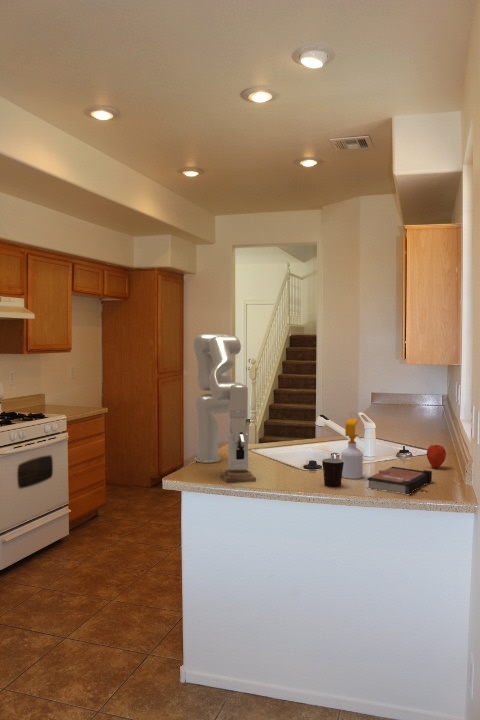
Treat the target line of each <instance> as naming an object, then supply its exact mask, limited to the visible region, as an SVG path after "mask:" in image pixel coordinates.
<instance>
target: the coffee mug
mask: <svg viewBox="0 0 480 720" xmlns="http://www.w3.org/2000/svg"><path fill="white" fill-rule="evenodd" d="M321 462H322V465H321V466H322V471H323V472H322V473H323V482H324V483H323V485H324V486H325V487H328V488H340V487H341V485H342V478H343V477H342V472H343V465H344V460H341V458H333V457H331V458H328V457H327V458H322V460H321Z"/></svg>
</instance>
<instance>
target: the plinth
mask: <svg viewBox="0 0 480 720" xmlns="http://www.w3.org/2000/svg"><path fill="white" fill-rule="evenodd" d="M220 477H221V478H222V479H223V480H224V481H225V482H226V483H227V484H228V483H232V484H234V483H248V482H252V483H253V482H256V481H257V477H255V475H254V474H252V472H251V471H249V470H248V469H235V470H229V468H228V469H224V472H223V471H222V472H220Z"/></svg>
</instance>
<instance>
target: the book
mask: <svg viewBox="0 0 480 720" xmlns="http://www.w3.org/2000/svg"><path fill="white" fill-rule="evenodd" d="M432 475H433V471H432V470H425V469H424V470H419V469H418V470H417V469H410V468H407V467H406V468H405V467H397V466H391V467H388V468H387V469H385V470H378V473H377V472H376V474H373V475H371V476H369V477H367V478H366V479H367V481H368V487H366V489H368V488H371V489H370V490H374V489H377V490H376V491H380V490H387V491H393V492H400V493H405V494H410V493H413V492H412V491H413V490H415V489H417V488H419V487H421V486H422V487H424V486H425V485H424V484H426V483H427V484H430V483H429V482H431V481H433V479H432ZM431 483H432V482H431ZM427 484H426V485H427ZM423 485H424V486H423ZM422 487H421V488H422ZM379 489H380V490H379ZM419 489H420V488H419ZM417 490H418V489H417ZM415 491H416V490H415ZM410 495H411V494H410Z"/></svg>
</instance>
